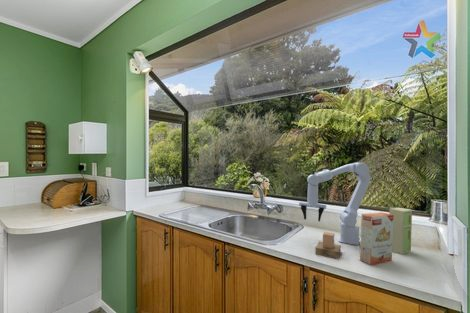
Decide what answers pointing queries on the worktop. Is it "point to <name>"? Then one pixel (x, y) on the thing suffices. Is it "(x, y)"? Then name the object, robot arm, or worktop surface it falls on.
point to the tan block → (328, 240)
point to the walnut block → (328, 250)
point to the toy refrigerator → (401, 230)
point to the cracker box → (376, 238)
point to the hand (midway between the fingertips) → (312, 220)
